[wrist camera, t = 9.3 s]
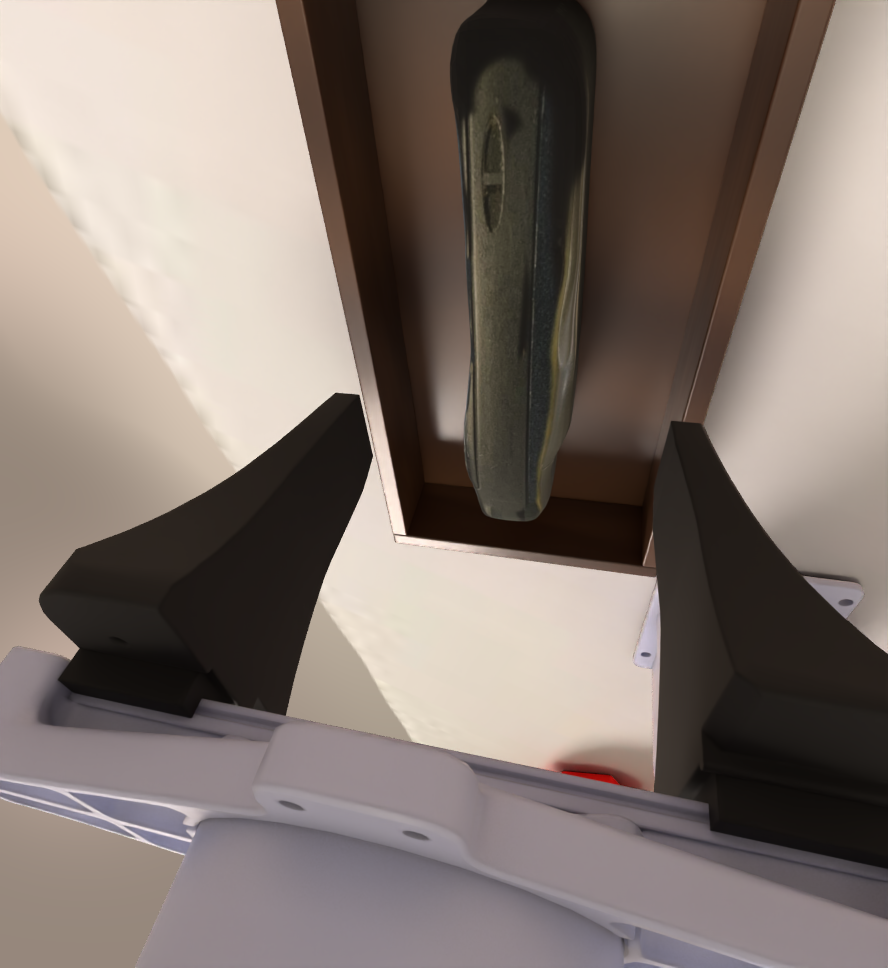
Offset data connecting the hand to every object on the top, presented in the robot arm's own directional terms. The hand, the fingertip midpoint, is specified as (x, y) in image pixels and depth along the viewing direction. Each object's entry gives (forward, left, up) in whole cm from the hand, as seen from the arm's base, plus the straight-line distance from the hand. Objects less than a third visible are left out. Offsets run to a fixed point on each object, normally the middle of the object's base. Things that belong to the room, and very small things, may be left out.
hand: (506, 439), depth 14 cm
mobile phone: (0, 0, -7) cm, 7 cm away
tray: (0, 0, -7) cm, 7 cm away
